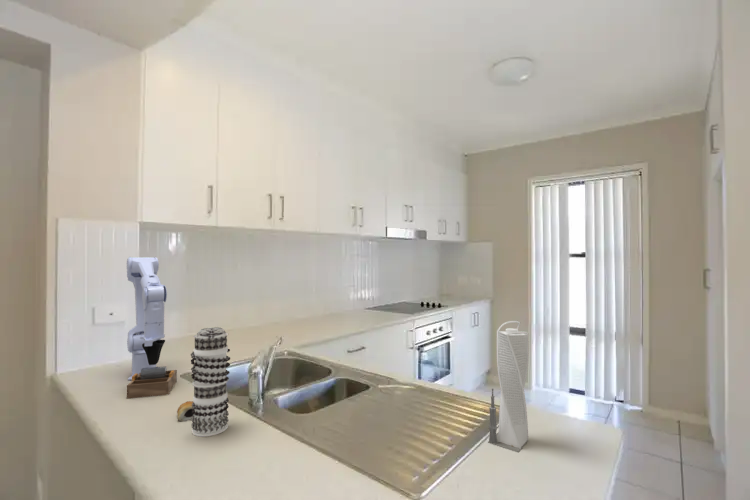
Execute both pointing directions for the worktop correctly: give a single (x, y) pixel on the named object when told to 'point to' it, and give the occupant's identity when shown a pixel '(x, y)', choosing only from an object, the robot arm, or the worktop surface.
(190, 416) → the pastry
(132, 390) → the rack
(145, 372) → the panel
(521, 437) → the skyscraper
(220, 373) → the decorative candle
